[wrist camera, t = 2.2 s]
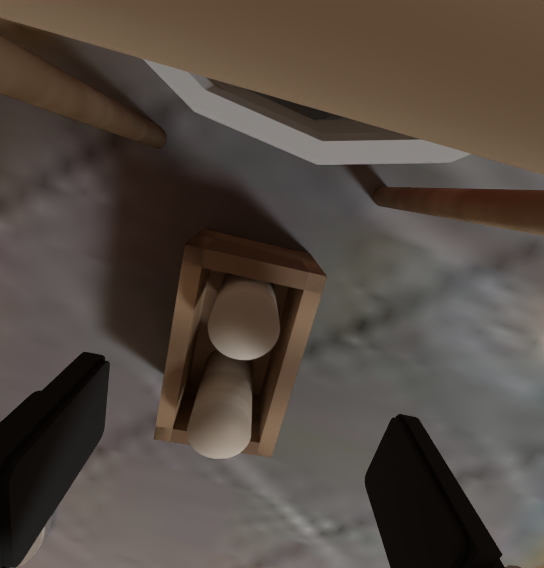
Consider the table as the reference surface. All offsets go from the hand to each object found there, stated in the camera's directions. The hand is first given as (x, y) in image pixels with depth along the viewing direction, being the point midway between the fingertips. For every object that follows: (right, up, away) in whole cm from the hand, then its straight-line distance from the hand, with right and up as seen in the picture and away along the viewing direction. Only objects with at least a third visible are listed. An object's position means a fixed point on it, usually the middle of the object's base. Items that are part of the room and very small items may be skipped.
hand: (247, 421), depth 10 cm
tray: (-1, +2, +8) cm, 9 cm away
